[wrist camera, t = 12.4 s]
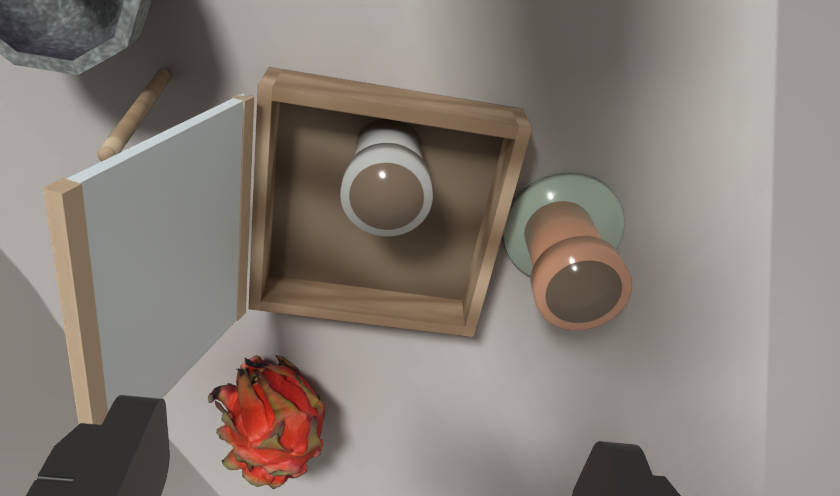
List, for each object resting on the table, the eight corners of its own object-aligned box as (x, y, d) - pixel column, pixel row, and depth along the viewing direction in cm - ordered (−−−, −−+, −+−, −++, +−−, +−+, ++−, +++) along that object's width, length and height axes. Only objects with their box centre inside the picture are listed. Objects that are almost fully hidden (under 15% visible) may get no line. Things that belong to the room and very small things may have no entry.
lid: (254, 96, 35) (241, 92, 35) (61, 194, 23) (43, 187, 23) (245, 312, 43) (235, 309, 43) (98, 467, 31) (84, 462, 31)
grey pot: (354, 106, 40) (345, 148, 34) (435, 119, 40) (440, 162, 35) (344, 180, 42) (335, 230, 37) (421, 191, 43) (423, 242, 37)
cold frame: (157, 48, 38) (64, 121, 27) (522, 109, 40) (564, 196, 30) (166, 268, 46) (97, 388, 36) (469, 307, 49) (487, 430, 38)
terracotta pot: (529, 188, 43) (550, 245, 36) (611, 201, 43) (646, 259, 37) (508, 260, 46) (524, 324, 39) (585, 271, 46) (613, 335, 40)
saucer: (519, 164, 42) (521, 169, 42) (638, 183, 43) (641, 187, 43) (490, 268, 47) (492, 273, 46) (599, 282, 48) (601, 288, 47)
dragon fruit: (291, 429, 57) (262, 315, 53) (362, 461, 52) (336, 337, 48) (215, 492, 51) (174, 368, 47) (286, 534, 46) (249, 401, 42)
